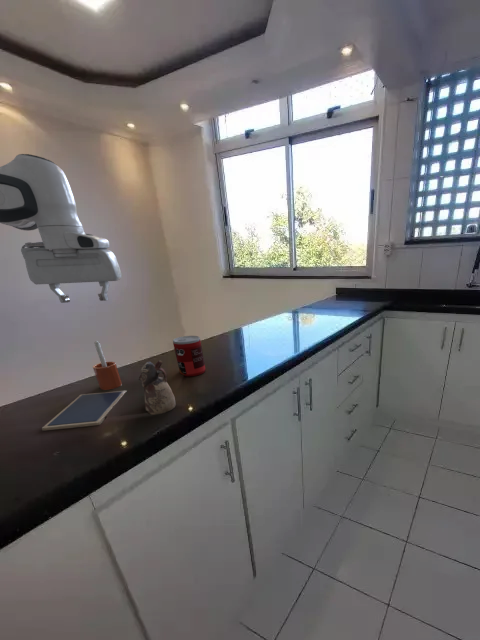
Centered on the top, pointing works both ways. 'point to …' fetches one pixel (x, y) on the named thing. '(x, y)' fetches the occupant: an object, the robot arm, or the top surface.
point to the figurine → (156, 389)
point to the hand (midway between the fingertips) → (85, 301)
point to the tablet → (85, 411)
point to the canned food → (189, 355)
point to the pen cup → (107, 376)
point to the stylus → (100, 354)
